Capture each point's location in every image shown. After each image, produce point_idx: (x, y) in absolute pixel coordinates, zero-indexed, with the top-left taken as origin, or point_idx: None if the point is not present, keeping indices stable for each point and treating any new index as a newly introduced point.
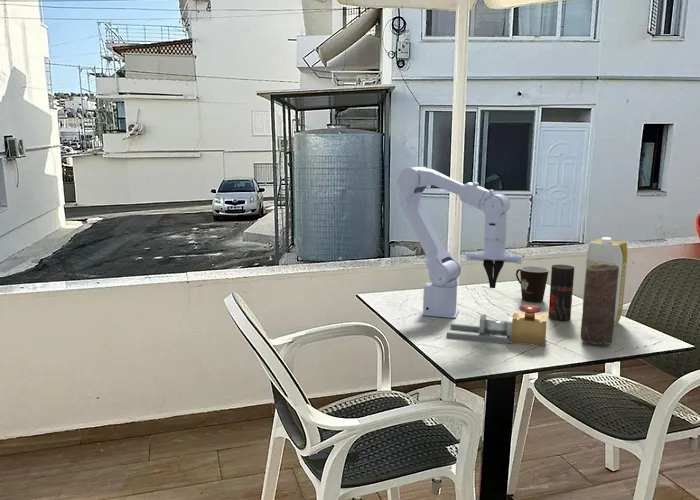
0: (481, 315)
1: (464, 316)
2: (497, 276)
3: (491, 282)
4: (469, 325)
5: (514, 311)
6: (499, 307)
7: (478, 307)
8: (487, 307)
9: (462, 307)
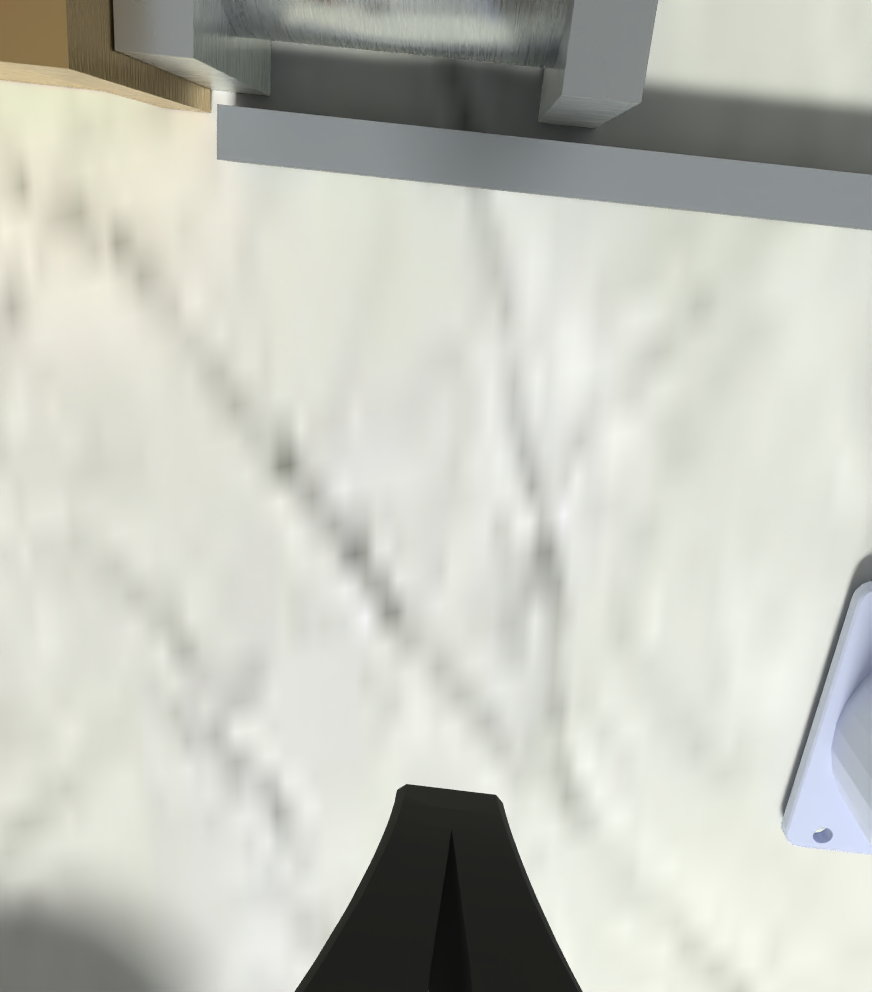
0: (649, 14)
1: (735, 677)
2: (303, 986)
3: (472, 868)
4: (750, 195)
5: (54, 44)
6: None
7: None
8: None
9: (724, 938)
